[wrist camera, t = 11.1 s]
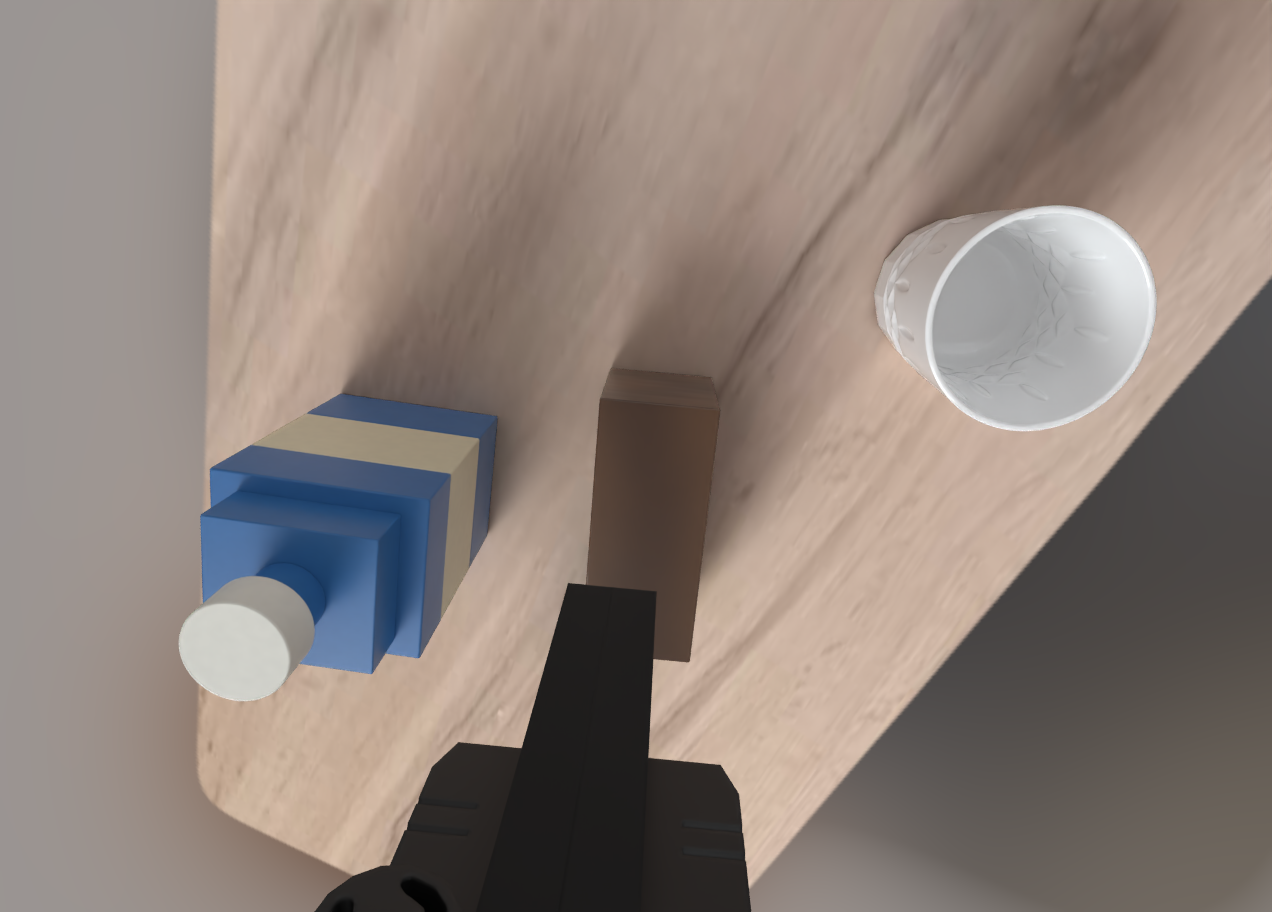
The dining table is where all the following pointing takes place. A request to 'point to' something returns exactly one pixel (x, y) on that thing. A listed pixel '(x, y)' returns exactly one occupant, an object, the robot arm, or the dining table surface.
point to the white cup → (1020, 312)
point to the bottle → (337, 542)
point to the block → (654, 494)
